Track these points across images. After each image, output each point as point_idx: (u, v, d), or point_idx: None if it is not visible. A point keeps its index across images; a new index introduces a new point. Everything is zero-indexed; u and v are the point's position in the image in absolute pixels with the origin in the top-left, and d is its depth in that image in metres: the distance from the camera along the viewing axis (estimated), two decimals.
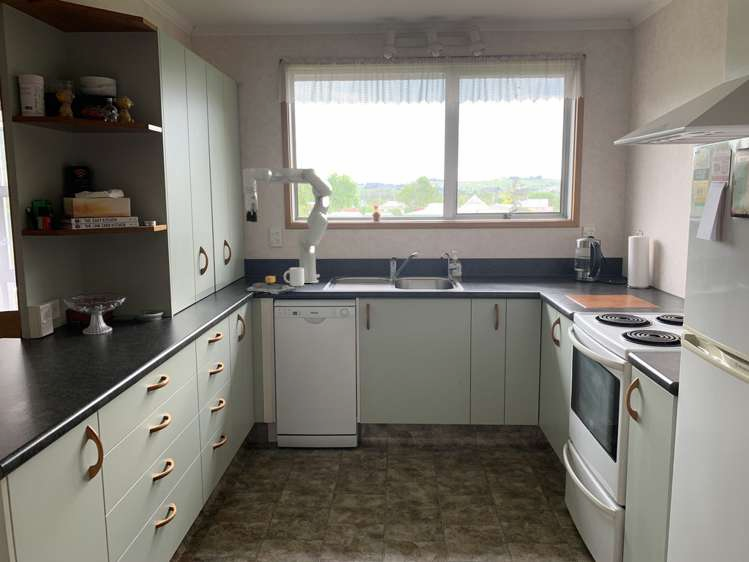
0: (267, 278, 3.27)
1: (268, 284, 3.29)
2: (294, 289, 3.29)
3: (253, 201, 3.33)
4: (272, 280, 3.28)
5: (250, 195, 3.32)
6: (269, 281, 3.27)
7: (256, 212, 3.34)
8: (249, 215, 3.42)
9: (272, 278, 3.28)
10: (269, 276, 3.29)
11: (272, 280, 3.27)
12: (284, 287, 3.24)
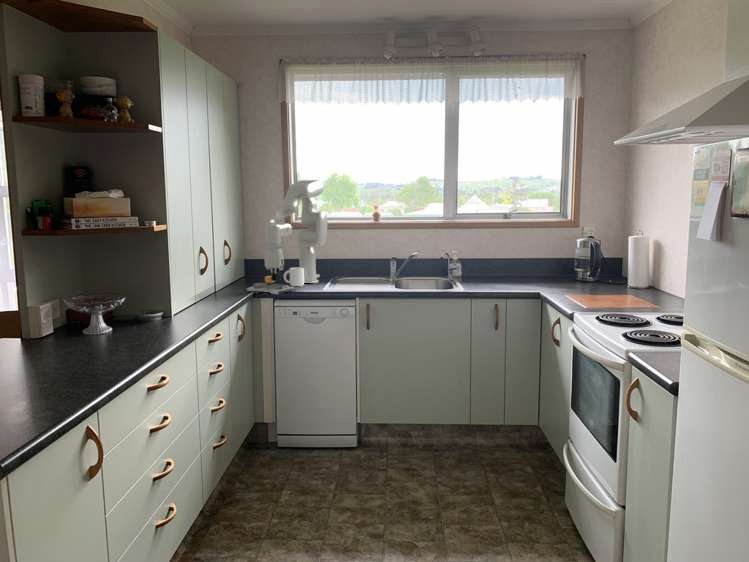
0: (266, 278, 3.28)
1: (267, 284, 3.29)
2: (294, 289, 3.29)
3: None
4: (271, 280, 3.28)
5: None
6: (268, 281, 3.27)
7: None
8: None
9: (271, 278, 3.28)
10: (268, 276, 3.29)
11: (271, 280, 3.28)
12: (284, 287, 3.24)
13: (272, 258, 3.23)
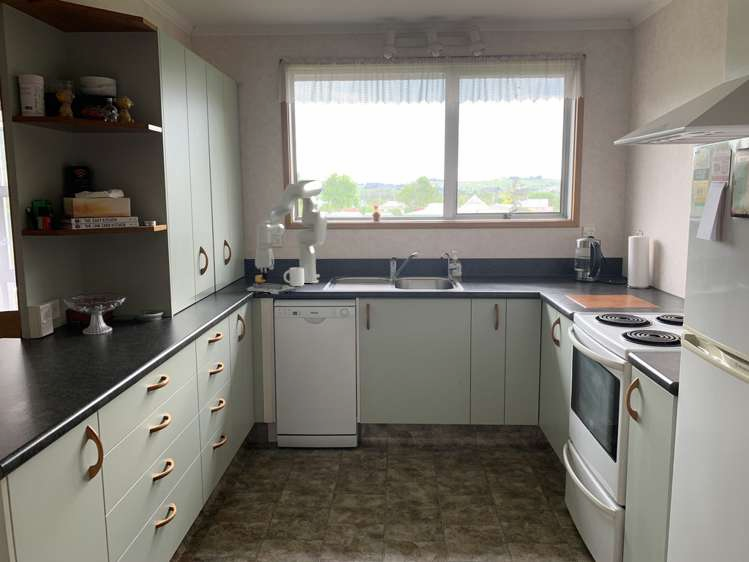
0: (257, 277, 3.31)
1: (258, 283, 3.32)
2: (294, 289, 3.29)
3: None
4: (262, 279, 3.31)
5: None
6: (259, 280, 3.30)
7: (261, 271, 3.30)
8: None
9: None
10: (259, 275, 3.33)
11: (261, 279, 3.31)
12: (284, 287, 3.24)
13: (262, 257, 3.26)
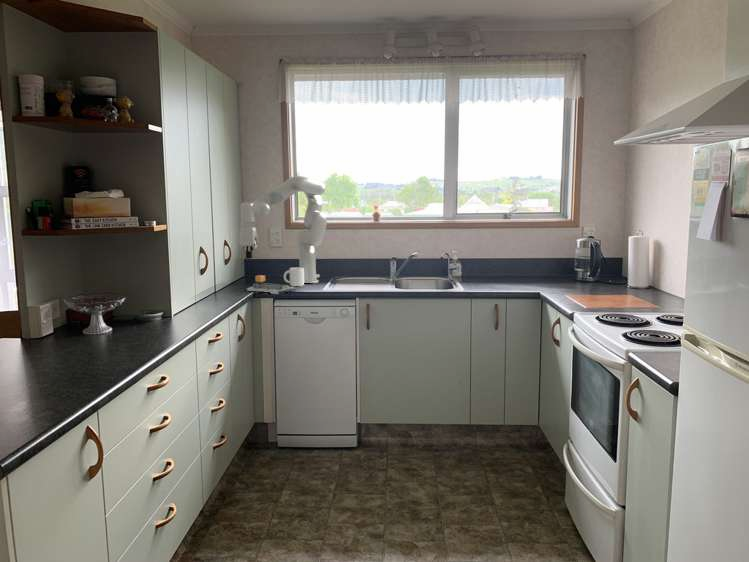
0: (257, 277, 3.31)
1: (258, 283, 3.32)
2: (294, 289, 3.29)
3: None
4: (262, 279, 3.31)
5: None
6: (259, 280, 3.30)
7: None
8: None
9: (262, 277, 3.31)
10: (259, 275, 3.33)
11: (261, 279, 3.31)
12: (284, 287, 3.24)
13: (246, 236, 3.29)
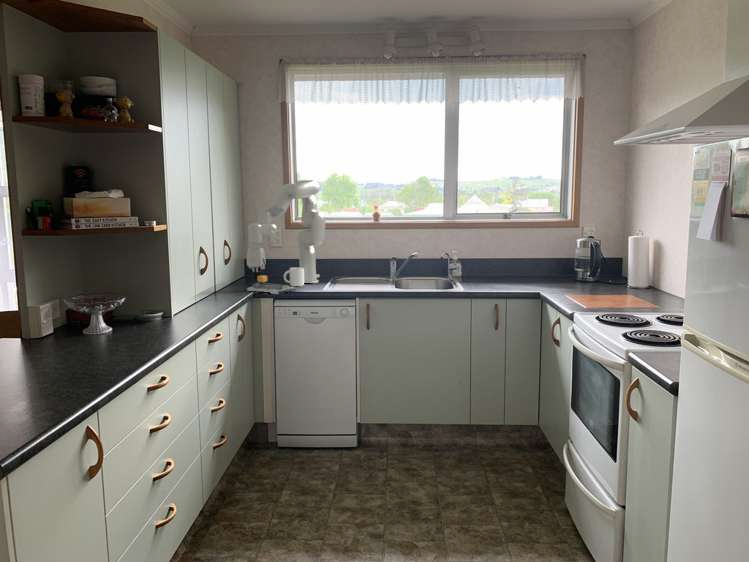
0: (259, 277, 3.30)
1: (260, 283, 3.31)
2: (294, 289, 3.29)
3: None
4: (264, 279, 3.30)
5: None
6: (261, 280, 3.30)
7: None
8: None
9: (264, 277, 3.30)
10: (261, 275, 3.32)
11: (263, 279, 3.30)
12: (284, 287, 3.24)
13: (254, 257, 3.29)
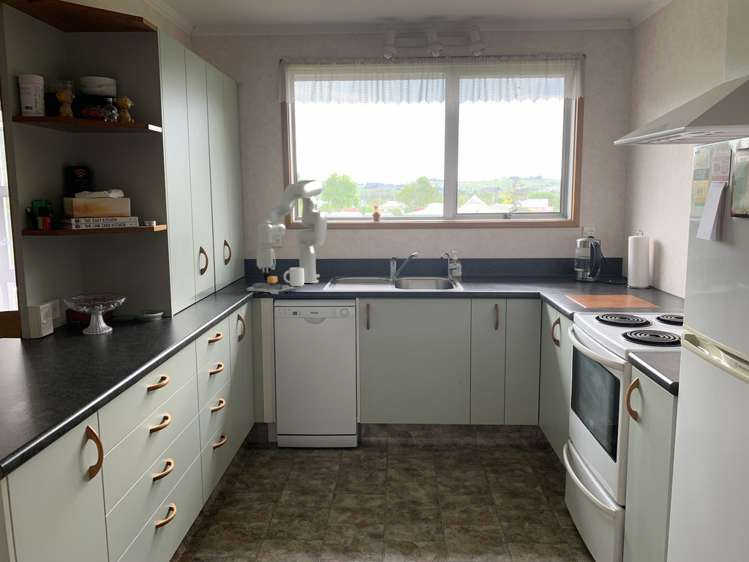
0: (269, 278, 3.27)
1: (270, 284, 3.28)
2: (294, 289, 3.29)
3: None
4: (274, 280, 3.27)
5: None
6: (271, 281, 3.26)
7: None
8: None
9: (274, 278, 3.27)
10: (271, 276, 3.29)
11: (274, 280, 3.27)
12: (284, 287, 3.24)
13: (264, 258, 3.26)
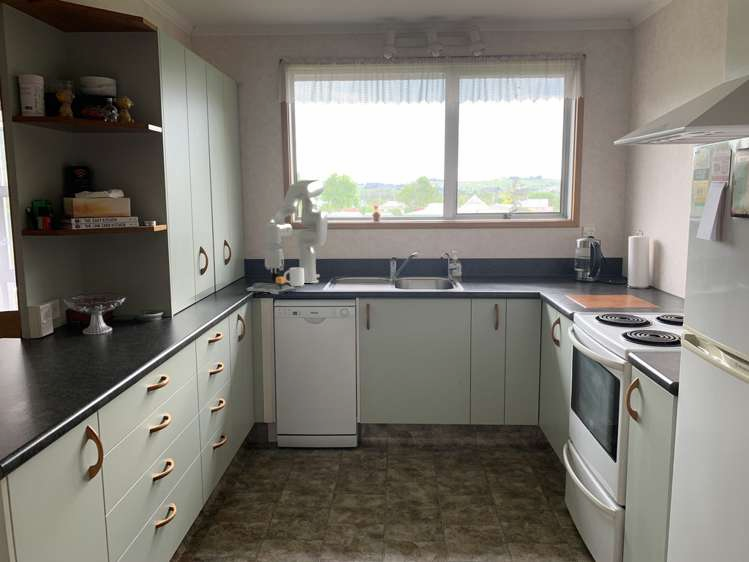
0: (277, 279, 3.24)
1: (278, 285, 3.25)
2: (294, 289, 3.29)
3: None
4: (282, 281, 3.24)
5: None
6: (279, 282, 3.24)
7: None
8: None
9: (282, 279, 3.24)
10: (279, 277, 3.26)
11: (282, 281, 3.24)
12: (284, 287, 3.24)
13: (272, 258, 3.23)
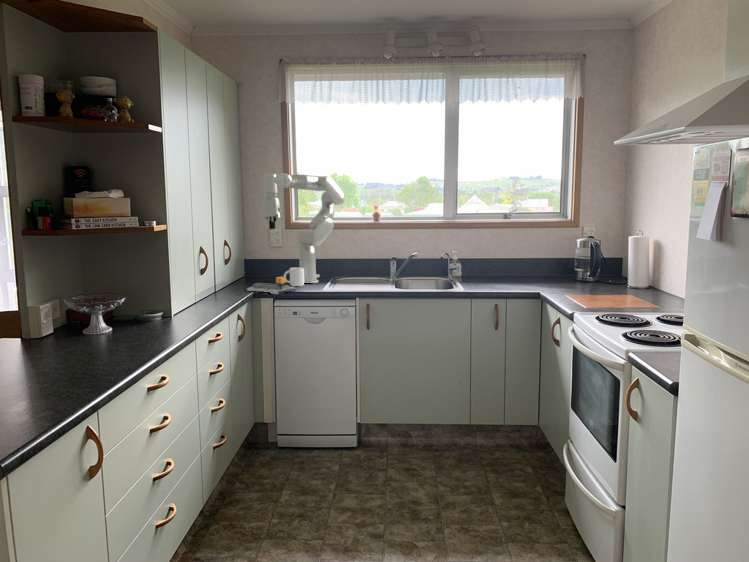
0: (277, 279, 3.24)
1: (278, 285, 3.25)
2: (294, 289, 3.29)
3: None
4: (282, 281, 3.24)
5: None
6: (279, 282, 3.24)
7: (268, 220, 3.38)
8: None
9: (282, 279, 3.24)
10: (279, 277, 3.26)
11: (282, 281, 3.24)
12: (284, 287, 3.24)
13: (269, 207, 3.34)
